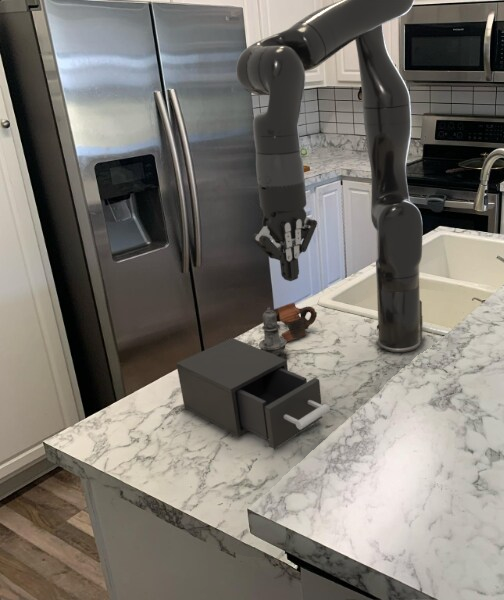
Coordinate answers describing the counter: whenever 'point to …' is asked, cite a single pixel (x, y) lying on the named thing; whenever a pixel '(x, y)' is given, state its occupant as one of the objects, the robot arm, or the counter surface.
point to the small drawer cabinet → (223, 380)
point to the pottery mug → (295, 320)
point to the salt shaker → (272, 335)
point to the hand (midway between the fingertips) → (290, 279)
